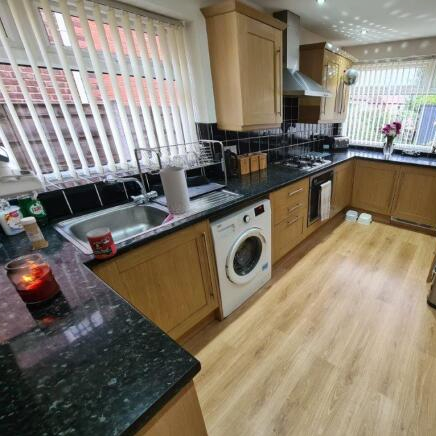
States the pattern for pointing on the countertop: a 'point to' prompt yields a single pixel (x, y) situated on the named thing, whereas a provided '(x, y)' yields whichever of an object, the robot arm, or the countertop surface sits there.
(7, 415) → the countertop surface
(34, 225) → the sprinkles bottle
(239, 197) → the countertop surface
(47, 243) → the cork coaster
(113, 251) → the canned food
